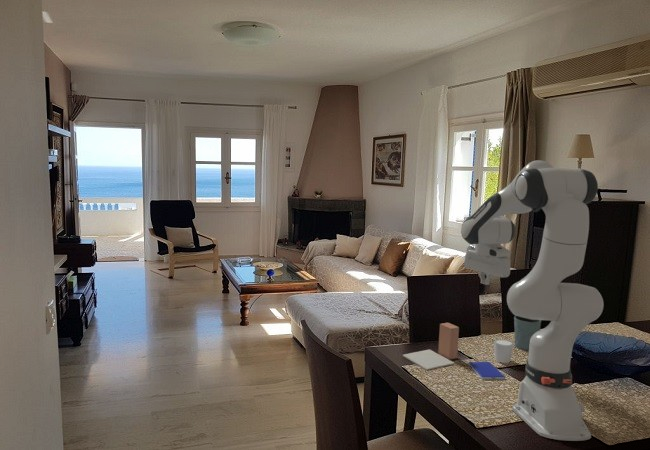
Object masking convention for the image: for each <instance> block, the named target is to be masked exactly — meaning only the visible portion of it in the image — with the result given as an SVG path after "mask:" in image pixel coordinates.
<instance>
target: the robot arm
mask: <svg viewBox="0 0 650 450" xmlns="http://www.w3.org/2000/svg"><path fill="white" fill-rule="evenodd" d="M598 187H599V183H598V180H597V178H596V176H595V174H594V173H593V172H591V171H589V170H586V169H583V168H561V167H560V168H559V167H554V166H553V165H552V164H551V163H549V162H547V161H545V160H540V159H538V160H533V161H531V162H528V163H527V164H526V165H525V166H524V167H523V168H521V170H520V171H519V172H518V173H517V175H516V176H515V177H514V179H513V180H512V181H511V182H510V183H509V184H508V185H507V186H505V187H504V188H503V189H501V190H500V191H497V193H494V194H492V195H491V196H490V197H488V198H487V199H486V200H485V201H483V203H482V204H481V206H479V207H478V208H477V210H476V211H475V212H474V213H473V214H471V215H469V216H468V217H467V218H466V219H465V220H464V221H463V222H462V225H461V230H460V233H461V236H462V239H463V240H464V241H465V242H467V243H468V244H469V246H468V247H467V248H466V253H465V257H464V262H463V265H464V268H466V269H470V270H472V271H476V272H478V276H479V278H480V284H483V285H486V286H488V285H490V282H491V279H492V277H493V276H495V277H499V278H501V279H502V278H508V277H509V276H510V275H511V267H512V266H511V259H510V256H511V253H512V252H511V250H510V249H508V248H507V247H504V246H503V245H505V244H509V243H511V242H512V241H513V240H514V239H515V237H516V236H515V235H516V225H515V223H514V222H513V220H511V219H510V218H507V217H506V216H508V215H519V214H520V215H521V214H527V213H530V212H534V213H538V212H540V211H541V210H542V211H543V212H544V214H545V223H544V228H543V232H542V239H541V245H540V250H539V254H538V258H537V260H536V263H535V265H534V266H533V267H532V269H531V270H530V272H529V273H527V275H526V276H524V277H523V278H521V279H520V280H519V281H516V282H515V283H513V284H512V285H511V286H510V288H508V291H507V294H506V303H507V304H506V305H507V306H508V309H509V310H510V312H511V314H513V315H514V316H519V317H523V318H527V319H532V320H541V321H550V322H549V324H547V326H545V327H544V328H542V329H540V330H539V331H537V332H536V333H534V334H533V335H532V337H531V339H530V344H529V351H528V360H527V361H526V364H525V373H524V374H525V377H524V378H523V380H521V381H520V383H519V388H518V392H517V393H518V394H517V401H516V403H515V404H513V405H512V408H511V410H512V411H513V412H514V413H515V414H516V415H517V417H519V418H520V419H522V420H523V421H524V422H525V423H526V425H528V426H529V428H531V429H532V431H534V432H535V433H536V434H538V436H540V437H543V438H547V439H551V440H552V439H553V440H557V441H569V442H570V441H571V442H579V441H582V442H583V441H587V440H590V439H591V438H592V433H591V432H590V429H589V428H588V426H587V425H586V423H585V421H584V420H583V413H585V405H584V404H583V403H579V400H578V393H576V392H575V391H574V389H573V386H572V385H573V375H572V369H571V361H572V360H571V359H572V353H573V348H574V344H575V342H576V340H577V338H578V336H579V335H580V333H581V332H582V330H583V329H584V328H586V327H587V326H588V325H590V324H591V323H592V322H594V321H596V320H597V319H598V318H599V317H600V316H601V315H602V313H603V310H604V299H603V296H602V295H601V293H600V292H599V290H598V289H597V288H596V287H593V286H589V285H586V284H581V283H574V282H573V283H572V282H562V281H563V280H565V279H566V278H568V277H570V276H572V275H574V274H575V275H576V273H578V272H579V271H580V270H581V269H582V267H583V265H584V262H585V256H586V249H587V245H588V239H589V231H590V210H589V207H588V204H590V203H592V202H593V201H594V199H595V198H596V196H597V194H598Z"/></svg>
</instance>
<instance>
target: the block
mask: <svg viewBox="0 0 650 450" xmlns="http://www.w3.org/2000/svg"><path fill="white" fill-rule="evenodd" d="M459 333H460V327H459V326H457V325H455V324H452V323H450V322H444V323H439V333H438V350H437V351H438V353H437V354H439V355H441V356H443V357H445V358H447V359H448V360H450V361H451V360H454V359H457V358H458V352H459V351H458V349H459Z"/></svg>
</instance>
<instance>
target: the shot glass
mask: <svg viewBox="0 0 650 450" xmlns="http://www.w3.org/2000/svg"><path fill="white" fill-rule="evenodd" d="M493 344H494V345H493V347H494V348H493V350H494V351H493V352H494V361H495V360H496V361H495V362H497V361H498V362H497V363H500V362H501V363H500V364H510V363H511V362H510V361H512V355H513V349H514V346H515V343H514V342H512V341H510V340H507V339H494V341H493ZM509 362H510V363H509Z"/></svg>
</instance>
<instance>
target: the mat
mask: <svg viewBox="0 0 650 450" xmlns="http://www.w3.org/2000/svg"><path fill="white" fill-rule="evenodd" d="M402 357H404V358H405V359H407V361H408V360H409V361H410V362H412V363H414V364H415V365H417V366H419V367H421V368H422V369H423V370H425V371H429V370H434V369H439V368H443V367H448V366H451V365H452V366H453V365H455V364H456V363H455V362H454V361H452V360H451V359H450V360H449V359H447V358H445V357H443V356H441V355H439V354H438V353H437V352H435V351H433V350H432V349H425V350H420V351H414V352H410V353H405V354H402Z"/></svg>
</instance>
